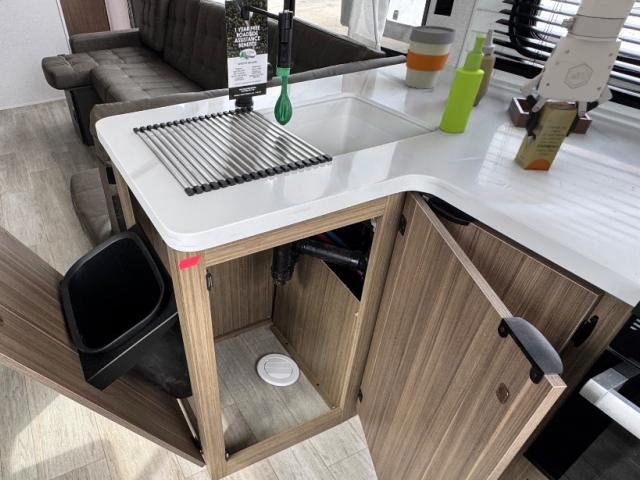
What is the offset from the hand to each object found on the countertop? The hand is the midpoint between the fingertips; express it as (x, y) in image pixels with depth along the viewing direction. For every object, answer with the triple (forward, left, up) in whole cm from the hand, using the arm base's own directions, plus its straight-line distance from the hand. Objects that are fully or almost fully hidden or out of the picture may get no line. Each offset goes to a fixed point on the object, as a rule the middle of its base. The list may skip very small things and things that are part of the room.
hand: (546, 131), depth 87 cm
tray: (-8, -31, -7) cm, 33 cm away
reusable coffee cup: (+23, -56, -7) cm, 61 cm away
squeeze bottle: (+10, -41, -7) cm, 43 cm away
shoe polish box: (0, 0, -7) cm, 7 cm away
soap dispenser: (+15, -18, -7) cm, 24 cm away
